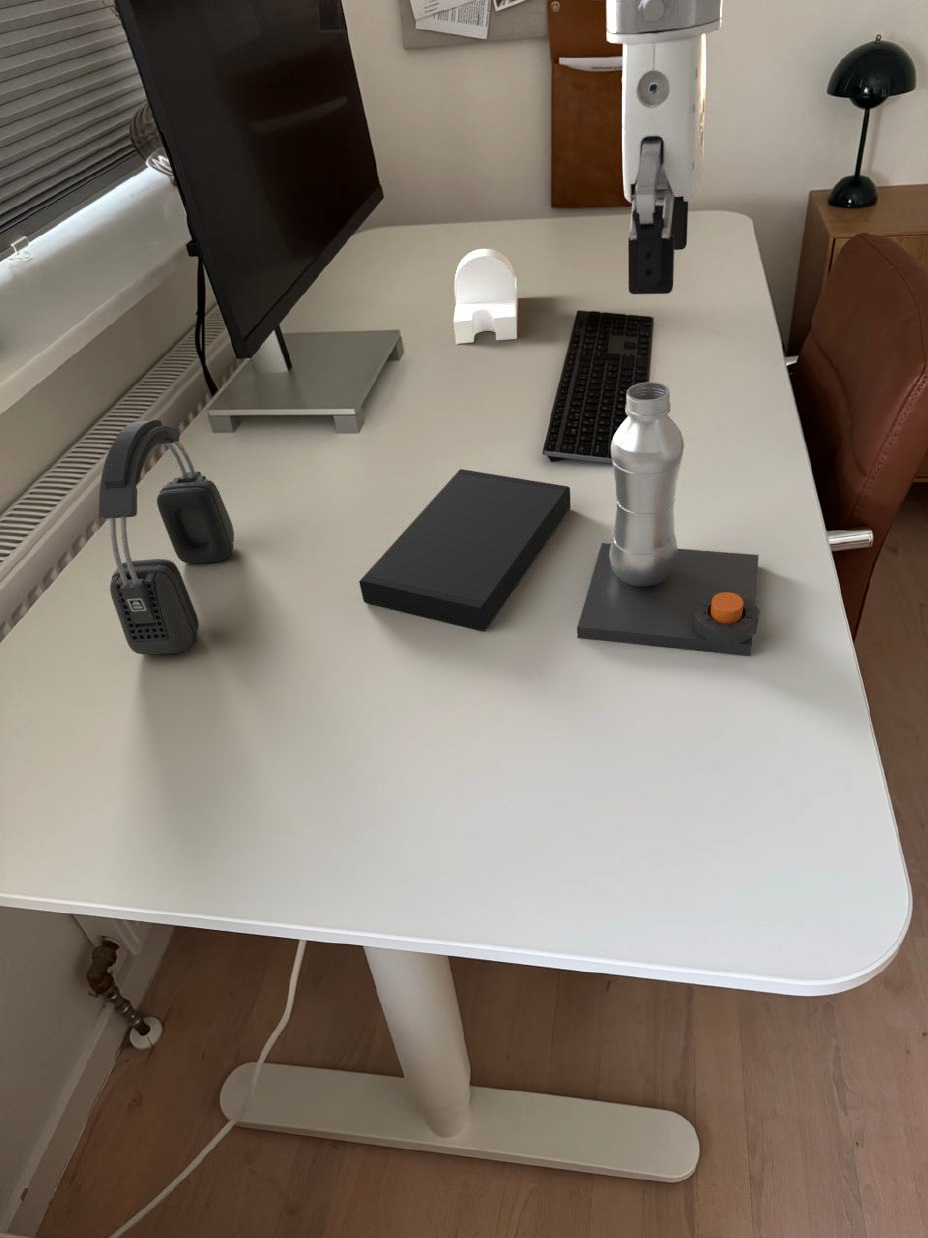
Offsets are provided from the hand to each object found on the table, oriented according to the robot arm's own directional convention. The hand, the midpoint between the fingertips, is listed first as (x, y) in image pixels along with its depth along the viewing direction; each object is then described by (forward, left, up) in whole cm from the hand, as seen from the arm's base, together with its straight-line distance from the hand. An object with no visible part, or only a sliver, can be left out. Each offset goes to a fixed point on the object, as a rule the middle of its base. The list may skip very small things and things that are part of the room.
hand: (658, 269), depth 70 cm
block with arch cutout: (+36, -69, -32) cm, 84 cm away
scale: (-2, +1, -32) cm, 32 cm away
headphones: (+49, +8, -32) cm, 59 cm away
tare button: (-8, +6, -30) cm, 31 cm away
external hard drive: (+20, -4, -32) cm, 38 cm away
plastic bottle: (+1, -1, -31) cm, 31 cm away
